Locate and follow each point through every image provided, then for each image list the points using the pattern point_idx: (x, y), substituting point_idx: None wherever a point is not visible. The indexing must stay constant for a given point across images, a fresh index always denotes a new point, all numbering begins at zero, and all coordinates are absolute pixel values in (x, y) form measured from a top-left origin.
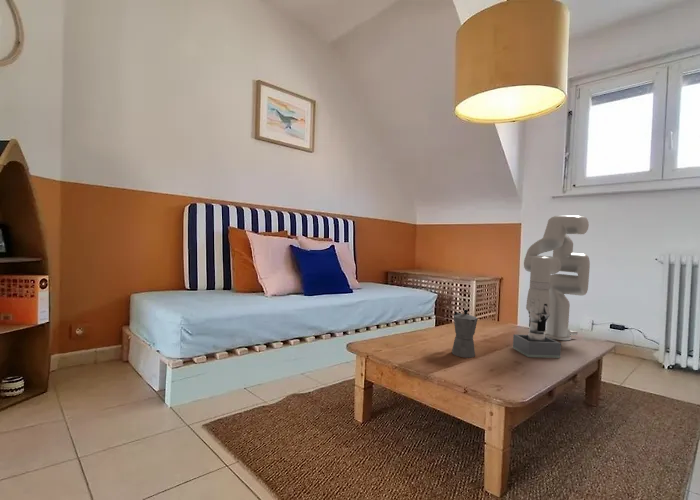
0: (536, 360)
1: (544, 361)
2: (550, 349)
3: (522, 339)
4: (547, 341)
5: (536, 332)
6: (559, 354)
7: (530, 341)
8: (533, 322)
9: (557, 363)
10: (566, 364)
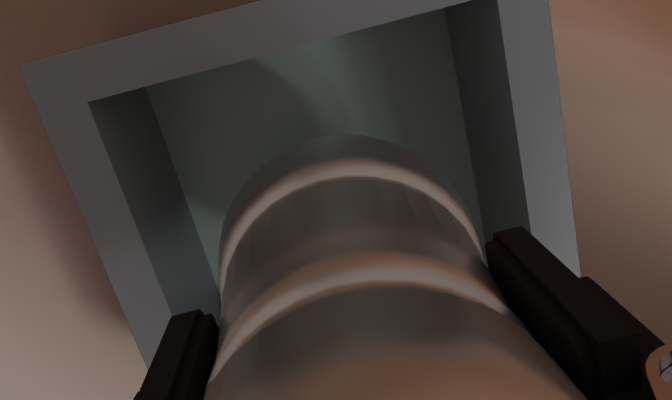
0: (3, 114)
1: (9, 193)
2: None
3: (224, 10)
4: None
5: (226, 278)
6: None
7: (86, 106)
8: (263, 330)
9: (4, 302)
10: (15, 372)
